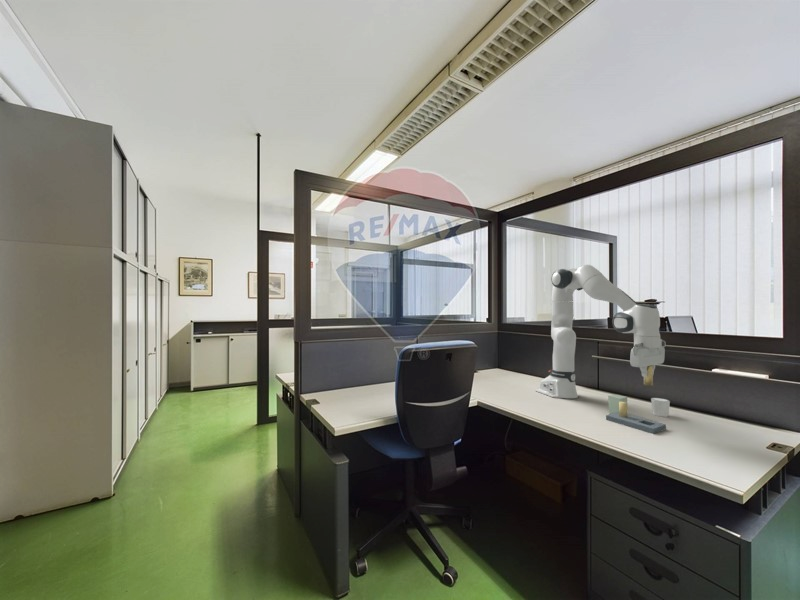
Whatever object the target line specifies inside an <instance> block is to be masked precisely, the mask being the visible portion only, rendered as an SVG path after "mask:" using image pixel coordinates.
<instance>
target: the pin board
mask: <svg viewBox="0 0 800 600" xmlns="http://www.w3.org/2000/svg"><path fill="white" fill-rule="evenodd" d="M605 420H606V421H610V422H613V423H616V424H619V425H622V426H625V427H630V428H632V429H636V430H638V431H639V430H640V431H643V432H647V433H648V434H649V433H650V434H653V435H654V434H657V433H660V432H662V431H665V430H667V424H666V423H663V422H658V421H655V420H652V419H647V418H644V417H640V416H637V415H632V414H629V411H628V402H627V403H626V402H619V412H616V413H609V414H606V415H605Z"/></svg>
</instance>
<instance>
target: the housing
mask: <svg viewBox="0 0 800 600" xmlns="http://www.w3.org/2000/svg"><path fill="white" fill-rule="evenodd" d="M619 402H626V403H627V404H628V396H623V395H620V394H610V395H608V413H609V414H612V413H616V412H619Z"/></svg>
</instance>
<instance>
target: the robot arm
mask: <svg viewBox="0 0 800 600" xmlns="http://www.w3.org/2000/svg"><path fill="white" fill-rule="evenodd" d="M550 279H551V283H552V289H551V290H552V291H551V299H550V300H551V321H550V322H551V324H550V325H551V327H550V329H551V330H550V336H551V340H553V347H552V349H553V350H552V368H551V369H549V370H548V373H549V375H548V376H546V377H545V378H543V379H541V381H540V384H539V387H537V388H535V392H537V393H539V394H543V395H545V396H548V397H552V398H555V399H556V398H560V399H578V398H579V394H578V392H577V391H578V390H577V386H576V371H575V370H576V369H575V355H576V345H577V344H576V343H577V335H576V332H575V331H574V330H573V322H574V320H573V319H574V292H575V291H581V290H583V291H584V292H585V293H586V294H587V295H588V296H589V297H590V298H592V299H594V300H597V301H603V302H608V303H611V304H614V305H616V306H618V307H619V308H621V310H622V311H619V312H617V313H615V314H614V315H613V317H612V320H611V322H612V327H613V329H614V330H615V331H616V332H617V333H622V334H633V348H631V350H630V357H629V358H630V359H629V363H630V366H631V367H634V368H639V370H640V372H641V377H643V378H644V377H648V372H647V366H651V365H652V370H653V376H654V373H655V372H654V371H655V370H656V365H661V364H664V362H665V358H666V357H665V355H666V354H665V352H666V350H665V347H666V346H667V345H666V341H665V340H663V339H662V338H661V333H660V327H661V317H660V312H659V309H658V307H657V306H656V305H653V304H649V303H637V301H636V300H634V299H633V298H632V297H631V296H630V295H628V294H627V293H626V292H624V290H623V289H621V288H619V287H617V286H616V285H615V284H614V283H612V282H611V281H610V280H609V279H608V278H607V277H606V276H605V275H604V274H603V273H602V272H601V271H600V270H598V268H596V267H594V266H593V265H591V264H584V265H581V266H580V267H578V268H575V267H574V268H567V269H566V268H561V269H556V270H555V271H554V272H552V275H551V278H550Z"/></svg>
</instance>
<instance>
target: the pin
mask: <svg viewBox="0 0 800 600" xmlns="http://www.w3.org/2000/svg"><path fill="white" fill-rule="evenodd" d="M647 372H648V377H643V385H644V386H649V387H650V386H654V380H653V379H654V377H653V376H654V375H653V370H652V365H651V366H647Z"/></svg>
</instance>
